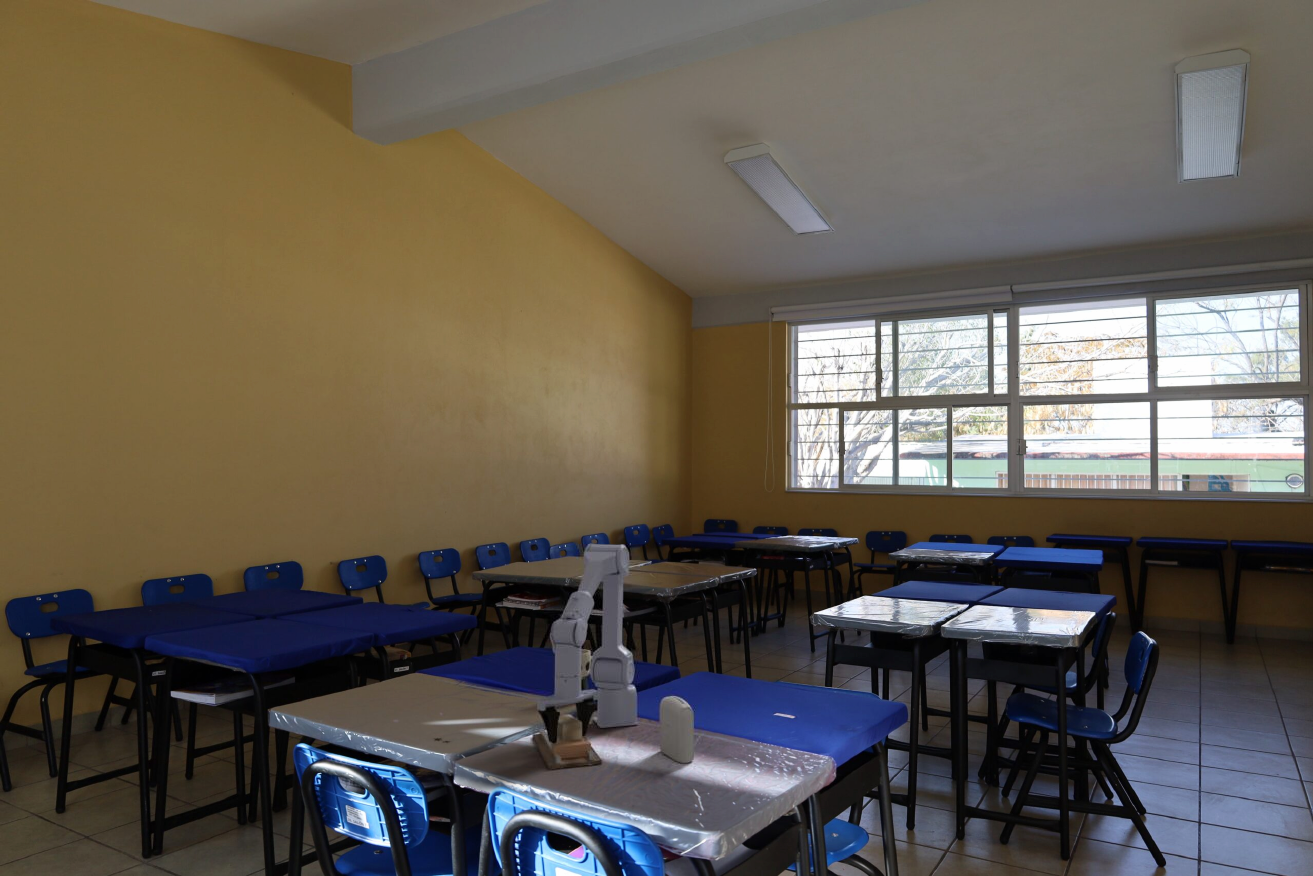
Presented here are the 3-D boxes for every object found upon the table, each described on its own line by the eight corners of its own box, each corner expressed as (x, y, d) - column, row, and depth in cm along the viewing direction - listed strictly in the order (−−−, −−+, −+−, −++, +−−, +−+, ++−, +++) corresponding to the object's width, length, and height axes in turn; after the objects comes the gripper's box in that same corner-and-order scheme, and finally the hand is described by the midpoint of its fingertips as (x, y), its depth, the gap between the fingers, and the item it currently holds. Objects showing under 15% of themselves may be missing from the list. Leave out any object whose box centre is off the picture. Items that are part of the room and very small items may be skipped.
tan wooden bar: (588, 752, 172) (588, 740, 172) (590, 755, 170) (591, 743, 170) (551, 756, 169) (552, 744, 169) (553, 759, 167) (553, 747, 168)
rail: (573, 731, 187) (573, 726, 187) (594, 760, 167) (594, 754, 167) (539, 734, 184) (539, 729, 185) (556, 764, 165) (556, 758, 165)
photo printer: (657, 750, 176) (657, 693, 176) (674, 748, 177) (674, 691, 178) (678, 765, 166) (678, 704, 167) (696, 762, 168) (696, 702, 169)
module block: (569, 741, 179) (569, 714, 180) (581, 750, 173) (582, 722, 174) (550, 744, 177) (550, 717, 177) (562, 753, 171) (562, 725, 171)
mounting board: (579, 733, 188) (579, 730, 188) (601, 764, 167) (601, 760, 167) (532, 738, 184) (532, 734, 184) (549, 769, 164) (549, 765, 164)
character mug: (565, 705, 212) (566, 656, 213) (553, 700, 218) (553, 651, 219) (601, 699, 218) (601, 651, 219) (588, 694, 224) (588, 647, 225)
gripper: (585, 667, 182) (584, 728, 181) (529, 676, 173) (529, 740, 172) (603, 672, 177) (602, 735, 176) (547, 682, 168) (546, 748, 167)
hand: (567, 738), depth 174 cm, fingers open, 7 cm apart
